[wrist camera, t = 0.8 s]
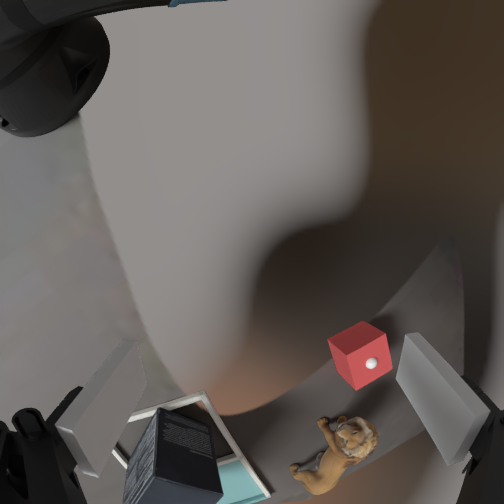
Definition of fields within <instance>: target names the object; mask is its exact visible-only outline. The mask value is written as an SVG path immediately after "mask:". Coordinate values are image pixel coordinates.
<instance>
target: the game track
mask: <svg viewBox="0 0 504 504" xmlns="http://www.w3.org/2000/svg"><path fill="white" fill-rule="evenodd" d="M200 400H202V402H203V403H204V405H205V407H206V408H207V410H208V412H209V413H210V415H211V417H212V418H213V420H214V422H215V423H216V425H217V426H218V428H219V430H220V431H221V433H222V434H223V436H224V437H225V439H226V441H227V442H228V444H229V445H230V447H231V448H232V450H233V451H234V453H233V454H230V455H227V456H224V457H221V458H218V459H216V461H217V466H218V471H219V475H220V480H221V485H222V489H223V493H224V496H223V497H222V498H221V499H220V500H219V501H218V502H217V503H216V504H252V503H255V502H258V501H261V500H264V499H267V498H270V497H271V494H270V492H269V491H268V489H267V488H266V487H265V485H264V484H263V482H262V481H261V479H260V478H259V477H258V475H257V474H256V472H255V471H254V469H253V468H252V466H251V465H250V464H249V462H248V461H247V459H246V458H245V456H244V455H243V453H242V451H241V450H240V448H239V447H238V445H237V444H236V442H235V441H234V439H233V437H232V436H231V434H230V433H229V431H228V429H227V428H226V426H225V425H224V423H223V421H222V420H221V418H220V416H219V415H218V413H217V411H216V410H215V408H214V406H213V404H212V403H211V401H210V399H209V397H208V396H207V394H206V392H205V391H204V390H202V391H199V392H197V393H193V394H190V395H187V396H184V397H181V398H178V399H175V400H172V401H169V402H166V403H163V404H160V405H156V406H153V407H150V408H147V409H143V410H140V411H136V412H133V413H132V415H131V416H130V418H129V420H128V422H131V421H135V420H139V419H142V418H146V417H149V416H153V415H154V414H155V412H156V410H157V408H158V407H161V408H164V409H166V410H173V409H176V408H179V407H182V406H185V405H188V404H191V403H194V402H197V401H200ZM112 453H113V455H114V456H115V457H116V458H117V459H118V460H119V462H120V463H121V464H122V465H123V466H124V467H125V468H126V470H127V464H128V460H127V459H126V458H125V457H124V456H123V454H122V453H121V452H120V451H119V450H118V448H117V447H116V446H115V447H114V449H113V451H112Z"/></svg>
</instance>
